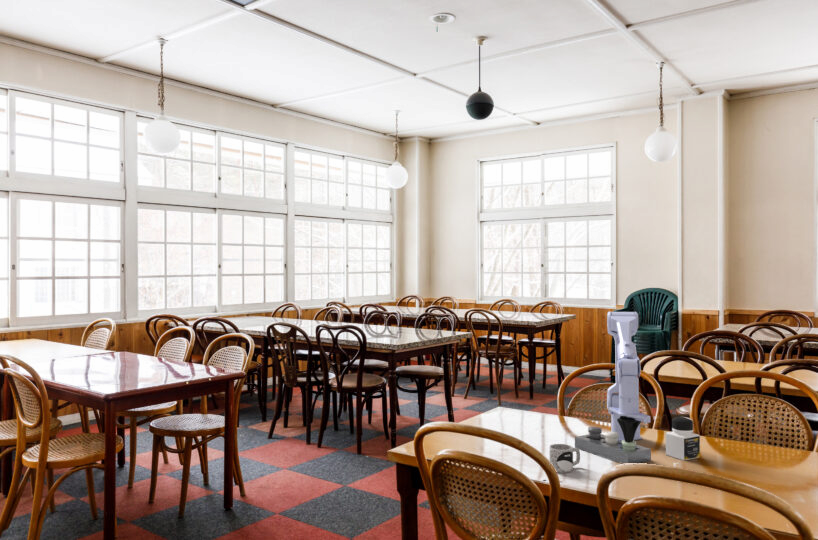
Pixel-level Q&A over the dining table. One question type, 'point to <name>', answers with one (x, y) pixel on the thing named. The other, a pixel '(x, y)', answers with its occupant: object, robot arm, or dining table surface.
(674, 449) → the medicine bottle
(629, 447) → the sage key
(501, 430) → the dining table surface
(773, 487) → the dining table surface
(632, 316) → the robot arm
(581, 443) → the key console
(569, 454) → the mug
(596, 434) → the grey rounded knob
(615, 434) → the ivory key
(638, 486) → the dining table surface
